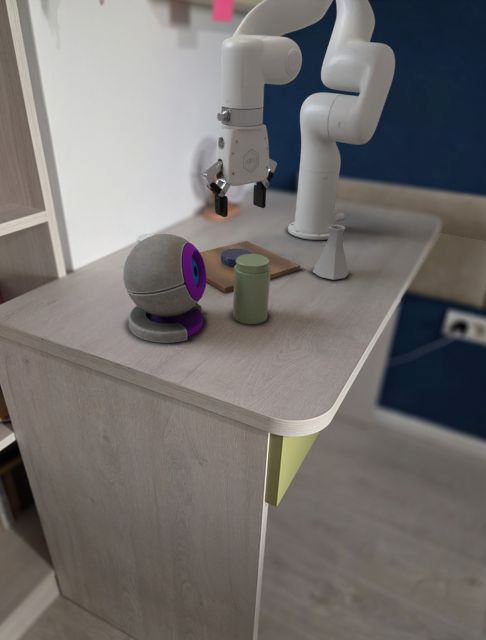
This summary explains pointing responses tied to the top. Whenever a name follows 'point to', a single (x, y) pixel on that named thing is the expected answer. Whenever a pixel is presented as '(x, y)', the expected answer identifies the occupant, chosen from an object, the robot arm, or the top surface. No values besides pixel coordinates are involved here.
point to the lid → (232, 256)
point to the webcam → (165, 288)
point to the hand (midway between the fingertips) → (240, 210)
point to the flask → (333, 256)
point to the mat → (224, 274)
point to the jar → (251, 288)
